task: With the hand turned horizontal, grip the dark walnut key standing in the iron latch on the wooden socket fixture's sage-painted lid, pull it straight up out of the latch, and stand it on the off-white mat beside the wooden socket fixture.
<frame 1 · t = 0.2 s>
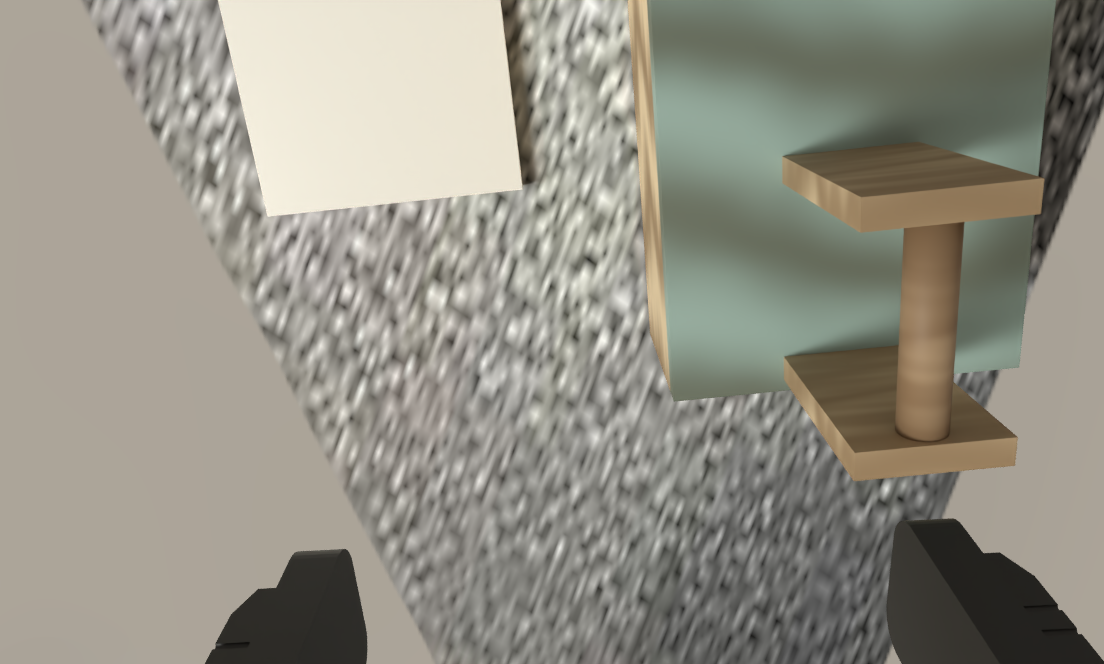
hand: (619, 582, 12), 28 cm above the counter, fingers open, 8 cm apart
wooden socket fixture: (788, 45, 36), on the counter
mat: (369, 44, 36), on the counter
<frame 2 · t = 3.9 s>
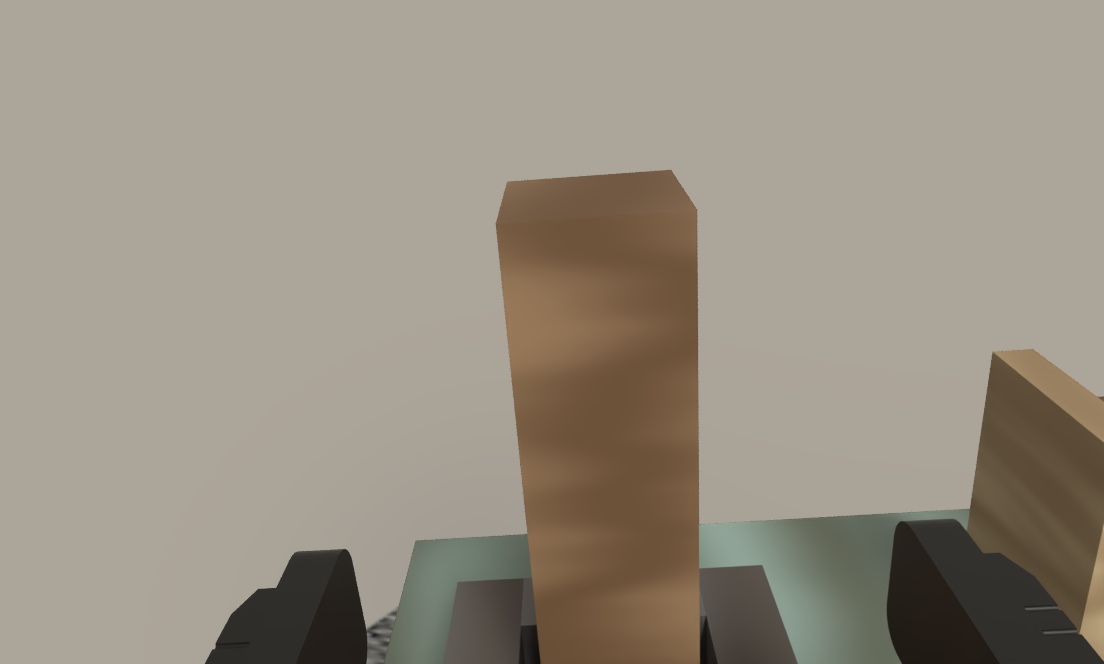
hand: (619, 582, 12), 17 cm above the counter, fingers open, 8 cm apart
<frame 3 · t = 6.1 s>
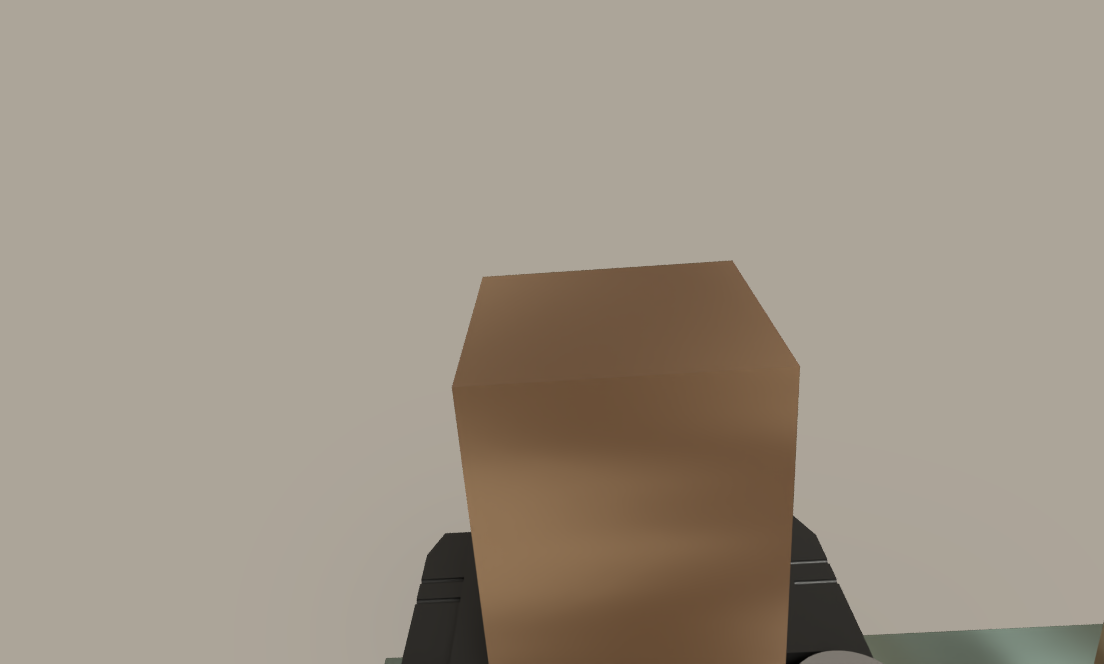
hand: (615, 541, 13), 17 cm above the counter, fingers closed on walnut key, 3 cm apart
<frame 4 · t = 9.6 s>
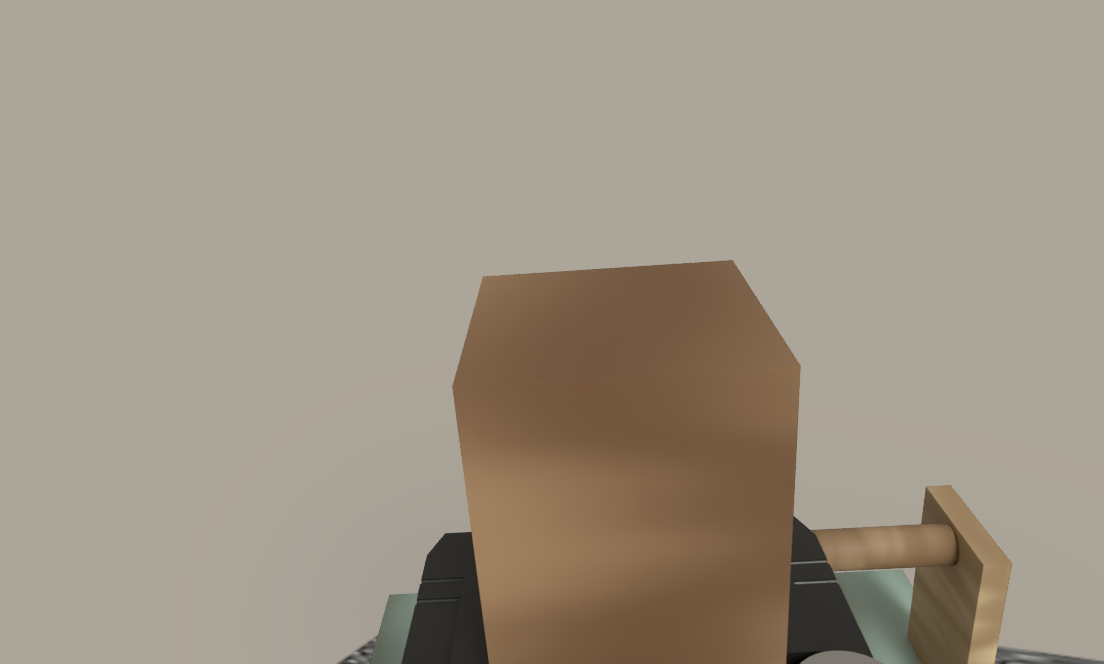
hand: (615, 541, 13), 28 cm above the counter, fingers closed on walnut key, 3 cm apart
when the fingers open (11 cm above the counter, at t = 13.2 s): walnut key drops 1 cm, resting on mat.
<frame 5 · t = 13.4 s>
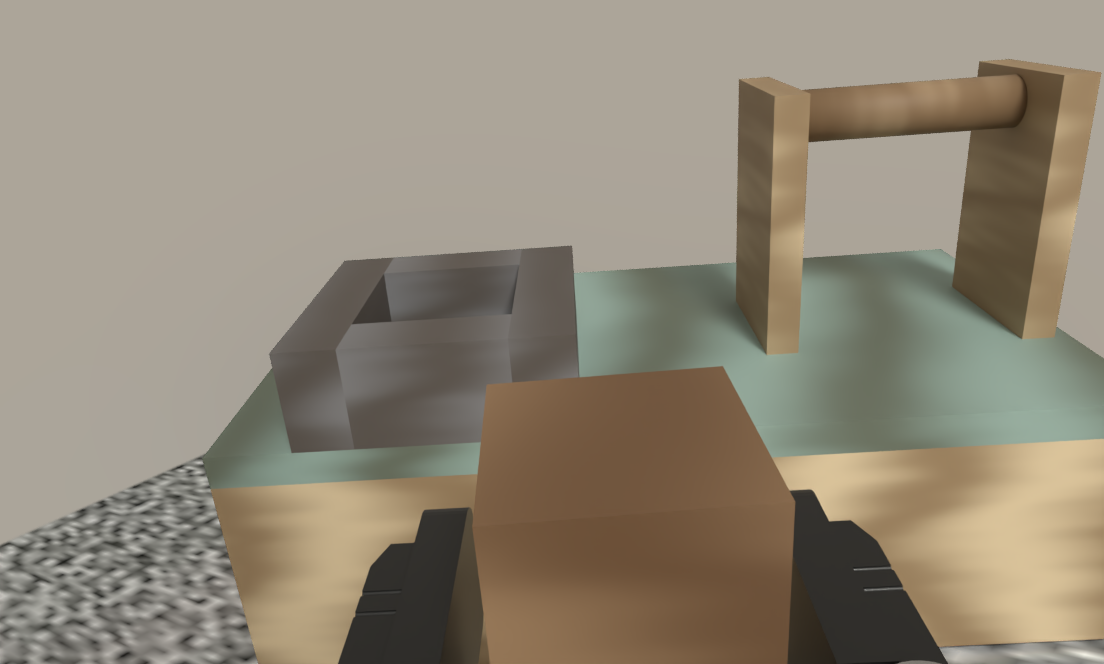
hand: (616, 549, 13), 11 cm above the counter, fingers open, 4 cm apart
wooden socket fixture: (654, 522, 32), on the counter
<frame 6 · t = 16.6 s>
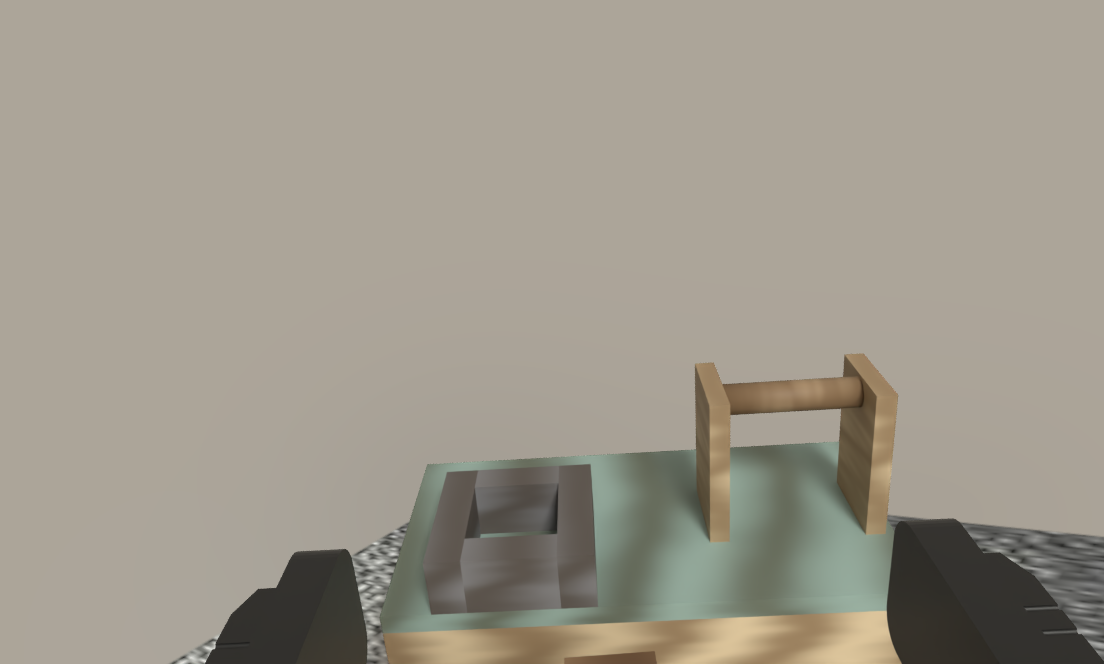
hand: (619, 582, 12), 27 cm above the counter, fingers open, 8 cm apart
wooden socket fixture: (644, 632, 48), on the counter
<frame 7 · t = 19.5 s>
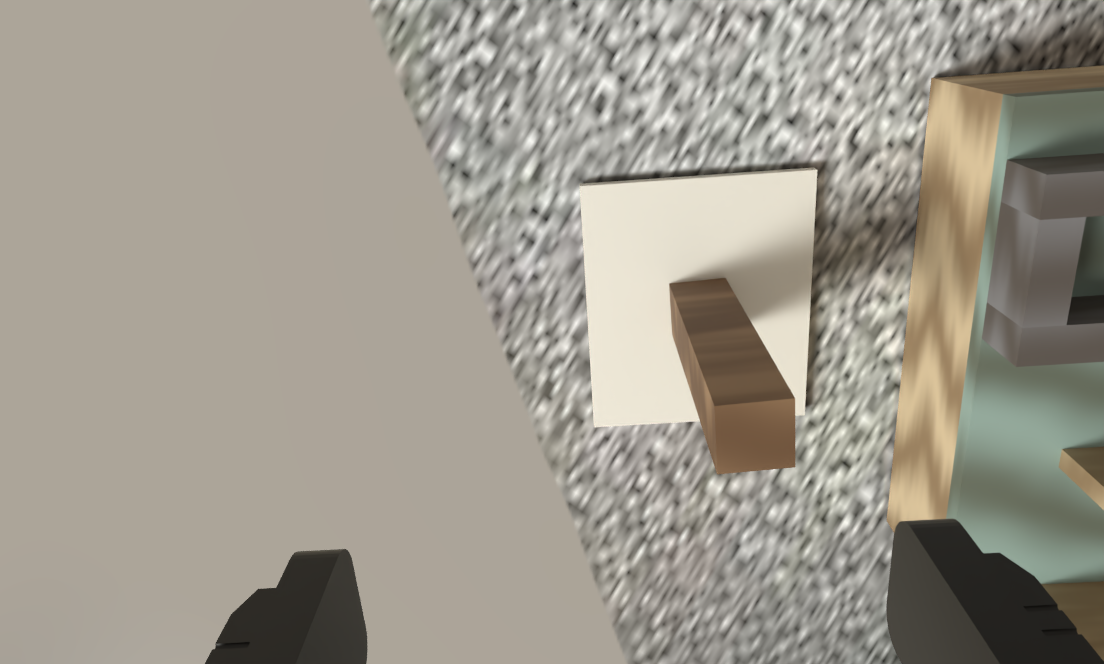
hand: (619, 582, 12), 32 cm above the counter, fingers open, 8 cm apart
walnut key: (698, 306, 44), point 1 cm above the counter, touching mat
wooden socket fixture: (1036, 315, 45), on the counter
mat: (696, 303, 45), on the counter
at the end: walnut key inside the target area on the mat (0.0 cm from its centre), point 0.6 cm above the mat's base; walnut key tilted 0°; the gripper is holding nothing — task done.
